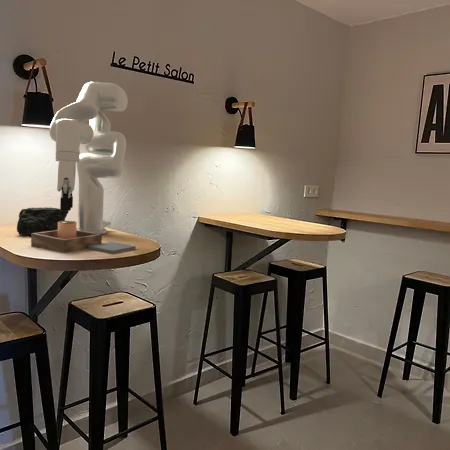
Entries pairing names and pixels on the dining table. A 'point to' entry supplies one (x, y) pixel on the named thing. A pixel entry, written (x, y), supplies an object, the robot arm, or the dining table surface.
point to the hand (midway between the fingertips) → (66, 209)
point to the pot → (67, 229)
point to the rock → (39, 220)
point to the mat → (111, 247)
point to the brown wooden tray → (65, 241)
